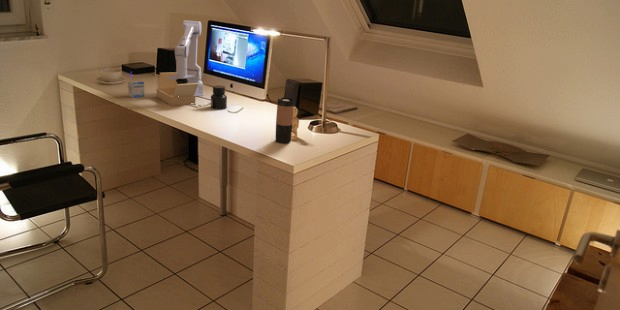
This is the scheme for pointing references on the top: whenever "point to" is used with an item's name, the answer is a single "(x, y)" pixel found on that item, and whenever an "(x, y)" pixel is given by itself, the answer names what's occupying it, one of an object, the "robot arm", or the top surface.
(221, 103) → the ink bottle
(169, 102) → the carton
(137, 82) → the medicine box
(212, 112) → the top surface
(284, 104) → the travel mug
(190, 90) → the flap
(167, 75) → the flap
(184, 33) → the robot arm
